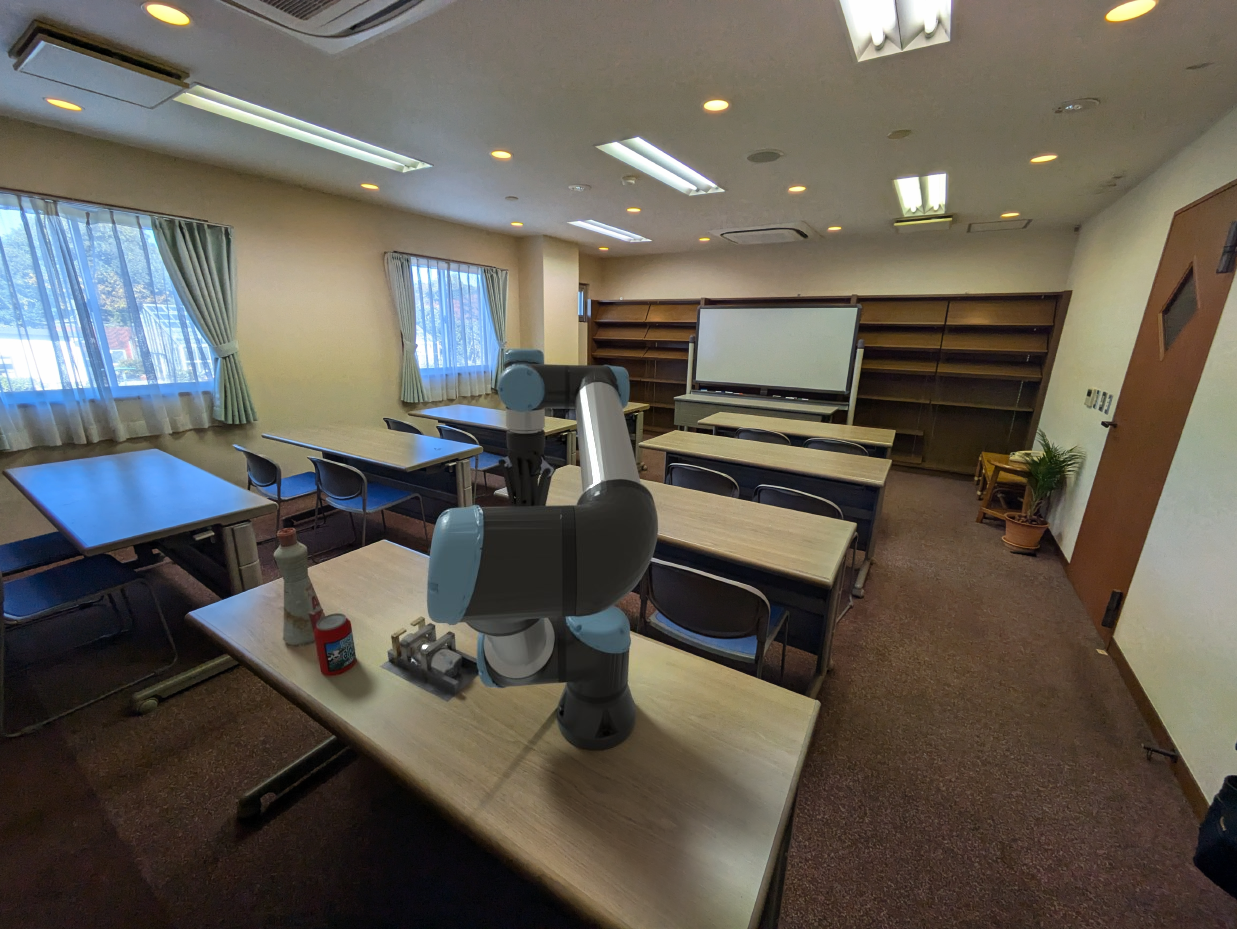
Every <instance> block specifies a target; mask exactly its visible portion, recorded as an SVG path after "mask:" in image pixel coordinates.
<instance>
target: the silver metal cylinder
mask: <svg viewBox="0 0 1237 929" xmlns="http://www.w3.org/2000/svg"><path fill="white" fill-rule="evenodd" d="M414 633H415V632H414ZM414 633H413V632H412V633H407V634H406V635H404V636H403V637H402V638H401V640H400V642H401V641H403V640H404V639H406V638H407V637H409V636H411V635H412V634H414ZM432 643H433V642H431V641H429V640H427V639H424V638H421V639H420V640H418V641H417V642H415V643H414V644H412V645H411V646H410V651H411V658H412V659H414V660H416V661H418V662H420V663H421V655H420V651H422V650H423V649H425V648H426V647H428V646H429V645H430V644H432ZM400 649H401V644H400ZM401 654H402V653H401ZM430 661H431V668H432V669H434V670H436V671H438V672H440V673H442V674H444V675H446V676H448V677H450V678H453V677H454V676H455V675H456V674H457V673H458V672H459V670H460V668H461V666H462V656H461V655H459V654H457V653H455V652H453V651H450V650H448V649H446V648H444V647H441V648H440V649H438V650H437V651H436V652H434V653H433V654H431V655H430Z"/></svg>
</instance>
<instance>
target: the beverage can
mask: <svg viewBox="0 0 1237 929" xmlns="http://www.w3.org/2000/svg"><path fill="white" fill-rule="evenodd" d="M314 638H315V642H314V643H315V649H316V654H317V660H318V666H319V671H320V673H321V674H322V675H323V676H326V677H333V676H335V677H336V676H338V675H342V674H344V673H346V672H348V671H349V670H351V669H352V668H354V666H355V665H356V663H357V654H356V648H355V642H354V641H355V640H354V633H353V628H352V622H351V620H350V619H349V618H348V617H347V616H346V614H344V613H341V612H340V613H338V612H337V613H331V614H328V615H327V614H326V615H325V617H323V618H321V619H320V620H319V621H318V622H317V624H316V628H315V630H314Z"/></svg>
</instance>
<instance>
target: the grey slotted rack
mask: <svg viewBox="0 0 1237 929" xmlns="http://www.w3.org/2000/svg"><path fill="white" fill-rule="evenodd" d="M410 626H412V627H414V628H415V627H416V626H417V627H418V630H416V631H415V632H414V634H412V635H411V636H409V637H407V638H406V639H404V640H403V641H401V640H400V636H402V635H404V634H405V633H406V632H407V629H406V628H404V627H402V628H400V629H399V630H397V631H395V632H394V633H392V634H391V635H390V638H391V647H392V648H390V649H389V650H387V651H386V652H387V661H386V662H384V663H383V664H381V665H379V667H381V668H383V669H384V670H386V671H388V672H390V673H392V674H394V675H395V676H397V677H399V678H401V679H403V680H405V681H407V682H409V683H411V684H413V685H414V686H416V687H419V688H420V689H422V690H424V691H426V692H428V693H430V694H432V695H434V696H436V697H438V698H439V699H441V700H444V702H448V701H450V700H451V699H452V698H454V696H456V695H457V694H458V693H459V692H460V691H461V690H463V689H464V688H465V687H466V686H467V685H468V684H470V682H472V681H473V680H475V678H476V677H477V676H479V669H478V667H477V657H474V656H472V655H470V654H467V653H466V652H463V651H460V650H459V649H457V644H456V643H457V642H456V633H455V632H453V631H451V630H449V631H447V632H446V633H444V634H443V635H442V636H441V637H439V638H438V639H437V632H436V631H437V630H436V624H434V623H432V622H429V623H427V624H426V618H425V617H424V616H419V617H418V618H416V619H414V620H413V621H411V622H410ZM421 638H424V639H427V640H429V641H431V642H433V643H432V644H430V645H429V646H428V647H426V648H425V649H423V650H422V651H420V655H421V663H420V662H418V661H416V660H414V659H412V658H411V651H410V646H411V645H412V644H414V643H415V642H417V641H418V640H420V639H421ZM400 641H401V642H400ZM400 644H401V649H400ZM441 647H444V648H446V649H448V650H450V651H453V652H455V653H457V654H459V655H461V656H462V666H461V668H460V670H459V672H458V673H457V674H456V675H455V676H454V677H453V678H450V677H448V676H446V675H444V674H442V673H440V672H438V671H436V670H434V669H432V668H431V661H430V655H431V654H433V653H434V652H436V651H437V650H438V649H440V648H441ZM401 653H402V654H401Z"/></svg>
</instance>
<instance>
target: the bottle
mask: <svg viewBox="0 0 1237 929" xmlns="http://www.w3.org/2000/svg"><path fill="white" fill-rule="evenodd" d="M276 537H277V540H278V543H279V546H278V548H277V549H275V551H274V553H273V558H274V560H275V562H276V565H277V567H278V569H279V572H280V574H281V577H282V579H283V628H282V629H283V630H282V632H283V634H282V640H283V642H285V643H286V644H289V645H291V646H294V647H299V646H306V645H310V644H313V643H315V638H314V630H315V628H316V624H317V622H318V621H319V620H320V619H321V618H323V617H325V616H326V613H325V612H324V608H323V607H322V605H321V603H320V600H319V597H318V596H317V592H316V590H315V587H314V585H313V583H312V581H311V578H310V576H309V568H308V547H307V546H306V545H305V544H303V543H301V542H299V541H298V537H297V531H296V529H295V528H294V527H285V528H283V529H279V530H278V531H277V533H276Z"/></svg>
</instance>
